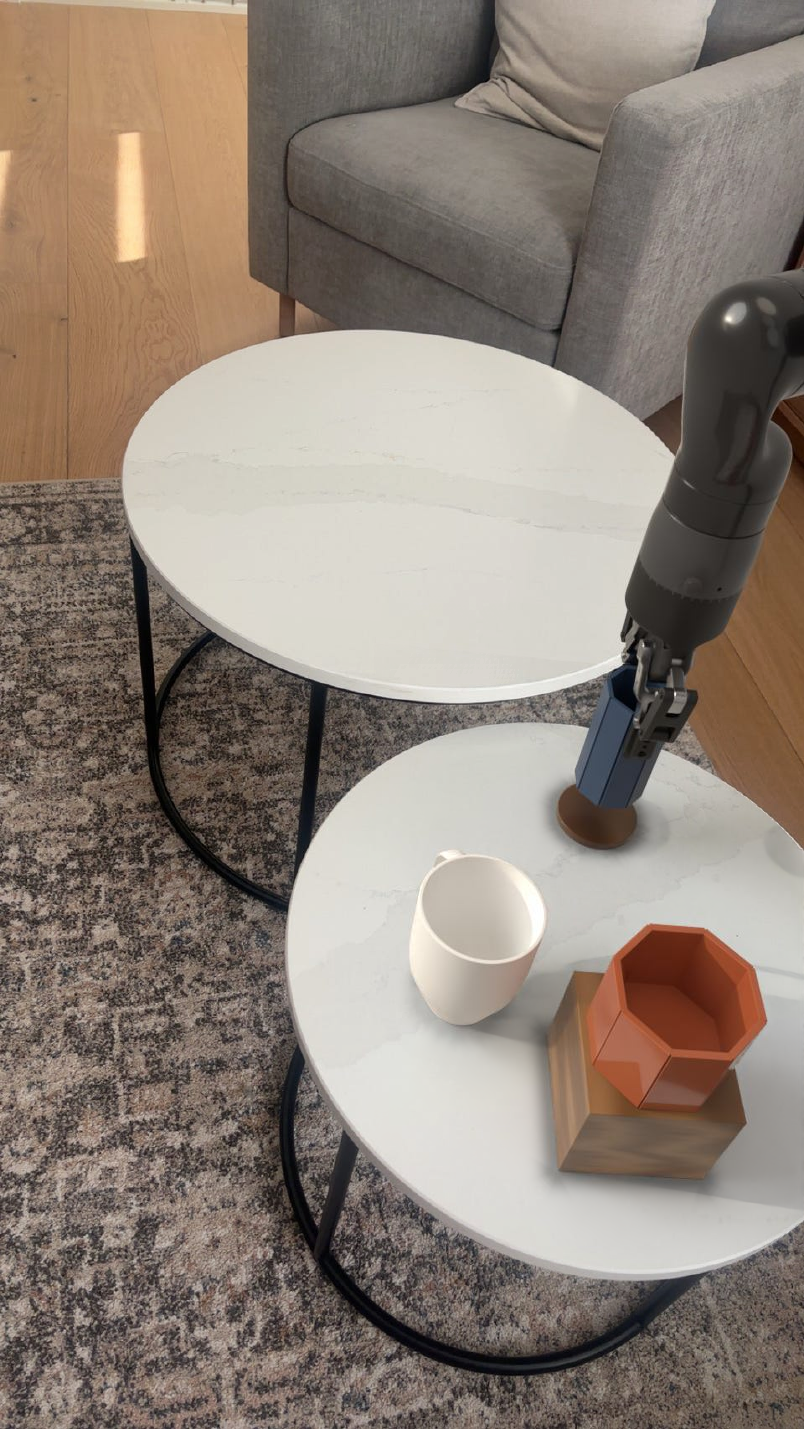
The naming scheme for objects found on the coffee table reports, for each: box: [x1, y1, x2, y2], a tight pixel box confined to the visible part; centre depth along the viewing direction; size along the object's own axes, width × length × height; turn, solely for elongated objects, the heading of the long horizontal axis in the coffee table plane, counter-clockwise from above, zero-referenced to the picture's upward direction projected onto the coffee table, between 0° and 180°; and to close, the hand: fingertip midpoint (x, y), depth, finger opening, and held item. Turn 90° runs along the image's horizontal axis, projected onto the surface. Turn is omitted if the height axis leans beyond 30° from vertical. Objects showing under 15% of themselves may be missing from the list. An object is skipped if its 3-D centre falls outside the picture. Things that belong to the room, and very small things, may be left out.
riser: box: [546, 970, 747, 1180], centre depth 74 cm, size 10×10×9 cm
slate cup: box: [574, 665, 666, 809], centre depth 88 cm, size 6×6×11 cm
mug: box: [408, 849, 548, 1026], centre depth 78 cm, size 12×9×12 cm
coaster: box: [555, 783, 638, 851], centre depth 95 cm, size 7×7×1 cm
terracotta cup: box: [586, 923, 768, 1112], centre depth 68 cm, size 9×9×7 cm
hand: (630, 726), depth 87 cm, fingers closed on slate cup, 5 cm apart
